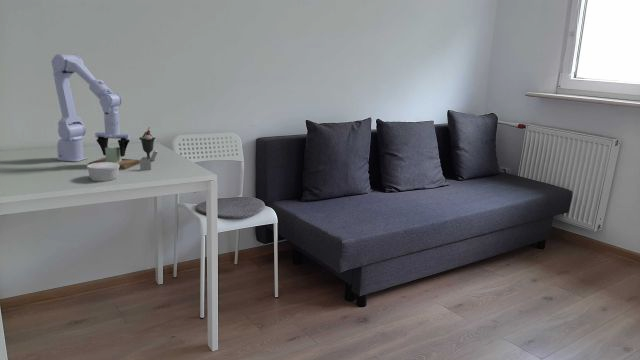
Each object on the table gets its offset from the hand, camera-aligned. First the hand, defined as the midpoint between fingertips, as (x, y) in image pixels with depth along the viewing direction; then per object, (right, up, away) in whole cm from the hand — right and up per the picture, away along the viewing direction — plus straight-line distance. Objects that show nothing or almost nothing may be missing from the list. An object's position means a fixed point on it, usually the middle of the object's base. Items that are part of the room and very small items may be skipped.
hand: (114, 155), depth 209 cm
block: (0, -3, 0) cm, 3 cm away
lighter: (+16, -6, -4) cm, 18 cm away
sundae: (+11, -2, +11) cm, 16 cm away
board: (0, -4, +1) cm, 4 cm away
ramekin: (+5, -10, -20) cm, 23 cm away
